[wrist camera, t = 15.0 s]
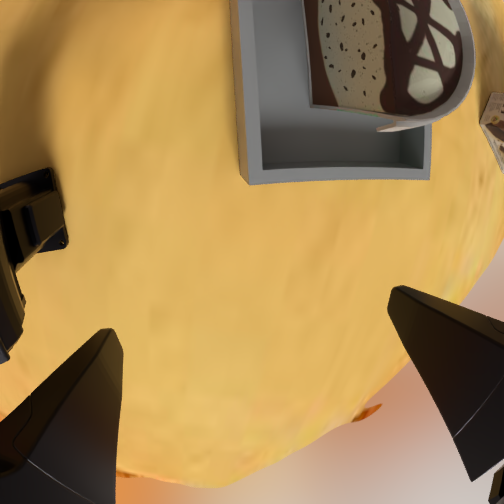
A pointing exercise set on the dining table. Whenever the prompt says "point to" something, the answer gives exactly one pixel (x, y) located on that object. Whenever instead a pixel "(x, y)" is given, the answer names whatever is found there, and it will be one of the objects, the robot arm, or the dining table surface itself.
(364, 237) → the dining table surface
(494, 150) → the coffee box
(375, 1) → the food container
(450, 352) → the robot arm
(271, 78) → the tray
